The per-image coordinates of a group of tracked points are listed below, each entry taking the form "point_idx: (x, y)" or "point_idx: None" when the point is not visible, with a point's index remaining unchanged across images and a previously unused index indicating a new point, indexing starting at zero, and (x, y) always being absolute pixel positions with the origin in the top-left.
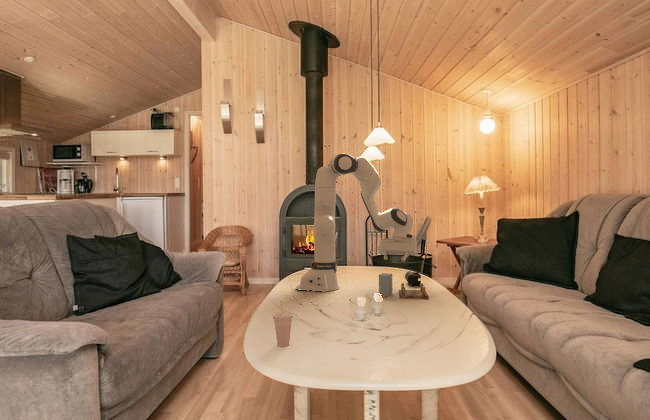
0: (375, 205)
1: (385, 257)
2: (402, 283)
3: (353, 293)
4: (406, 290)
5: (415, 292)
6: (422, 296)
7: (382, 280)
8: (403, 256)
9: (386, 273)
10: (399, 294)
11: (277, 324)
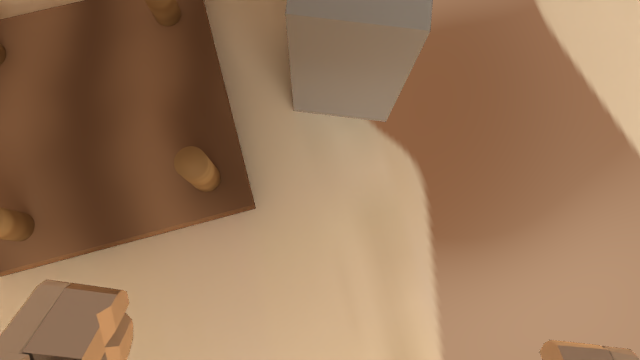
0: None
1: (589, 354)
2: (192, 164)
3: (621, 38)
4: (172, 197)
5: (75, 135)
6: (6, 21)
7: None
8: (30, 349)
9: (367, 16)
10: (218, 62)
11: None
